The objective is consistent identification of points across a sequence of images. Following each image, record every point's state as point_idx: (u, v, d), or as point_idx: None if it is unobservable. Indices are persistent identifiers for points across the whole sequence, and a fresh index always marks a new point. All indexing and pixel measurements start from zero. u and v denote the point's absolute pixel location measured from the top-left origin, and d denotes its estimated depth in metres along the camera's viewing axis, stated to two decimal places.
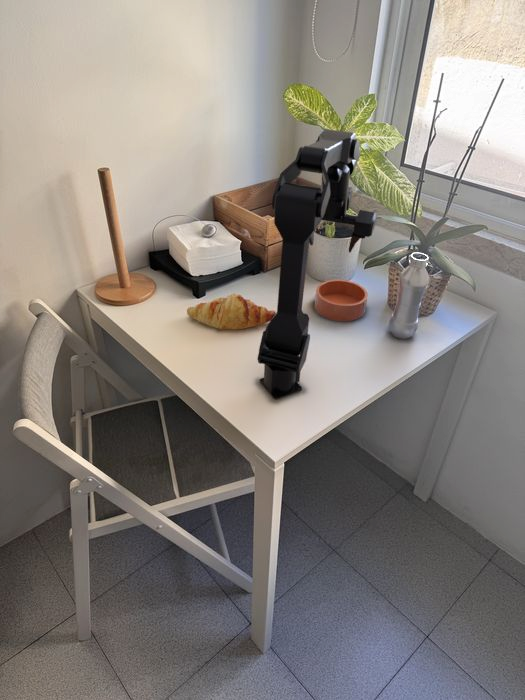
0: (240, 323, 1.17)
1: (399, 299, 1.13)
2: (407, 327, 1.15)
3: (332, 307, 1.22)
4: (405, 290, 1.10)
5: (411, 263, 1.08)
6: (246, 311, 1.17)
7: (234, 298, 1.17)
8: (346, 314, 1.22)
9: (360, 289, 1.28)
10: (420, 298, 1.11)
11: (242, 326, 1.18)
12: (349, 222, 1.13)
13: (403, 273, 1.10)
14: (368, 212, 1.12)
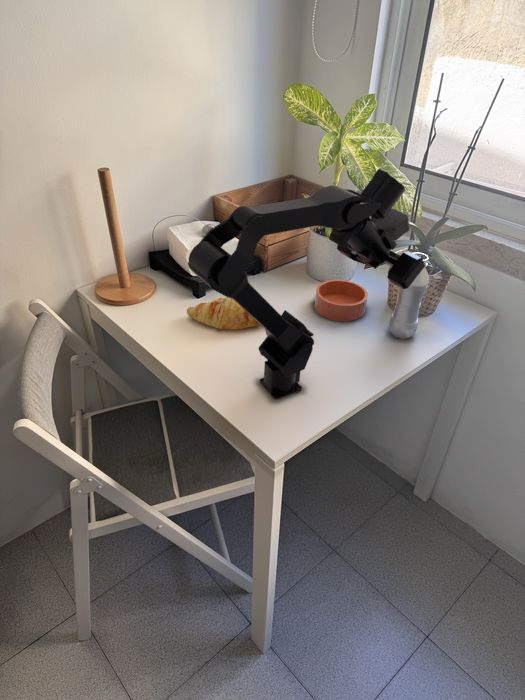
0: (240, 323, 1.17)
1: (399, 299, 1.13)
2: (407, 327, 1.15)
3: (332, 307, 1.22)
4: (405, 290, 1.10)
5: None
6: None
7: None
8: (346, 314, 1.22)
9: (360, 289, 1.28)
10: (420, 298, 1.11)
11: (242, 326, 1.18)
12: (391, 265, 0.97)
13: None
14: (409, 257, 0.93)
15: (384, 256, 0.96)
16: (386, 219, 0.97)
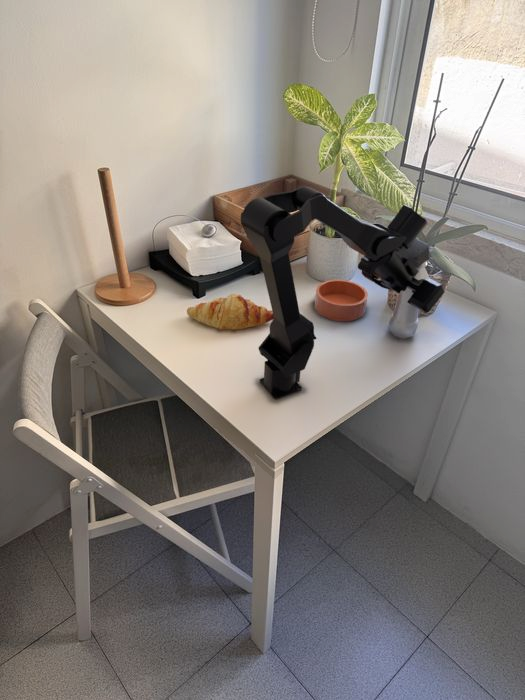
0: (240, 323, 1.17)
1: (399, 299, 1.13)
2: (406, 326, 1.15)
3: (332, 307, 1.22)
4: (405, 290, 1.10)
5: None
6: (246, 311, 1.17)
7: (234, 298, 1.17)
8: (346, 314, 1.22)
9: (360, 289, 1.28)
10: None
11: (242, 326, 1.18)
12: (413, 290, 1.06)
13: None
14: (430, 284, 1.02)
15: (407, 282, 1.05)
16: (408, 248, 1.05)
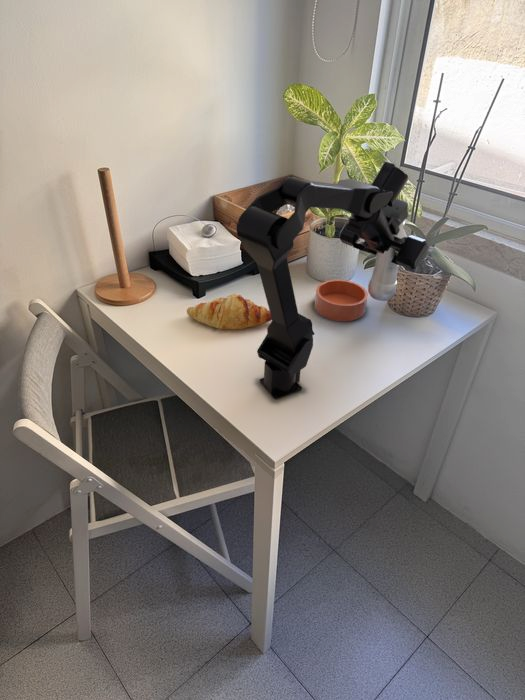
0: (240, 323, 1.17)
1: (379, 261, 1.13)
2: (388, 288, 1.15)
3: (332, 307, 1.22)
4: (386, 251, 1.10)
5: None
6: (246, 311, 1.17)
7: (234, 298, 1.17)
8: (346, 314, 1.22)
9: (360, 289, 1.28)
10: None
11: (242, 326, 1.18)
12: (396, 249, 1.06)
13: None
14: (415, 240, 1.03)
15: (390, 241, 1.05)
16: (388, 207, 1.05)
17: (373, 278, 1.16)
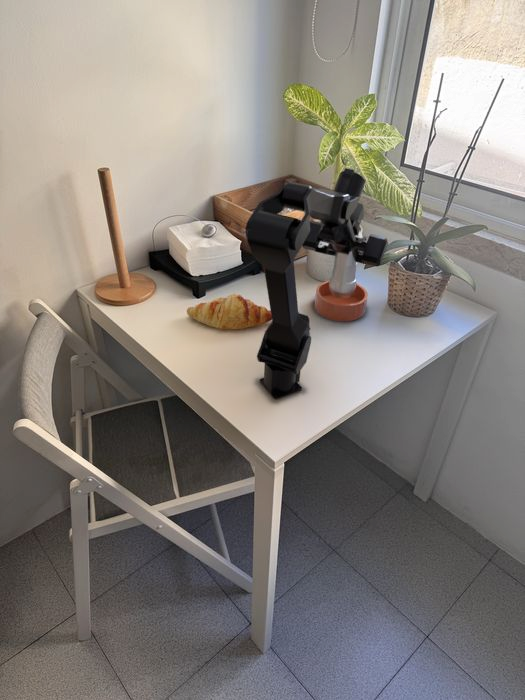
0: (240, 323, 1.17)
1: (339, 261, 1.18)
2: (350, 285, 1.21)
3: (332, 307, 1.22)
4: None
5: None
6: (246, 311, 1.17)
7: (234, 298, 1.17)
8: (346, 314, 1.22)
9: (360, 289, 1.28)
10: None
11: (242, 326, 1.18)
12: (359, 248, 1.12)
13: None
14: (377, 239, 1.09)
15: (354, 242, 1.11)
16: None
17: (334, 278, 1.21)
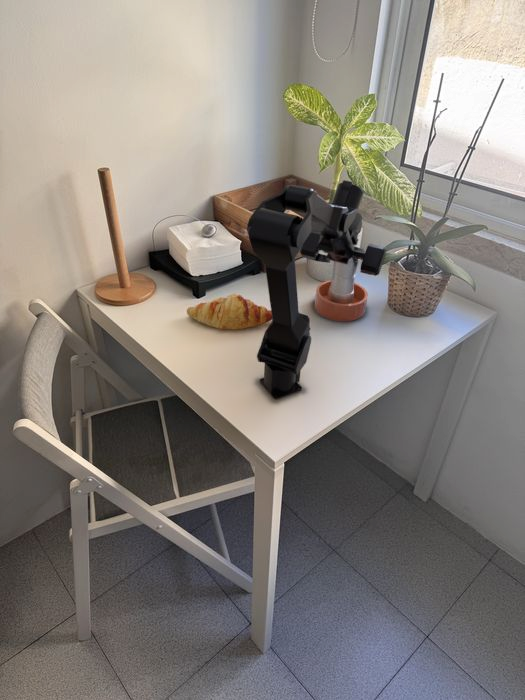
0: (240, 323, 1.17)
1: (338, 273, 1.20)
2: (348, 297, 1.23)
3: (332, 307, 1.22)
4: (344, 264, 1.18)
5: None
6: (246, 311, 1.17)
7: (234, 298, 1.17)
8: (346, 314, 1.22)
9: (360, 289, 1.28)
10: (356, 268, 1.20)
11: (242, 326, 1.18)
12: (358, 258, 1.14)
13: None
14: (375, 249, 1.11)
15: (352, 252, 1.12)
16: None
17: (333, 289, 1.23)
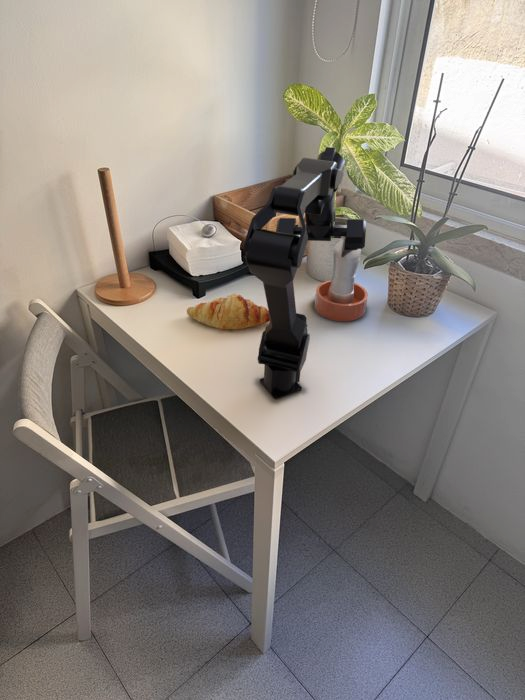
0: (240, 323, 1.17)
1: (338, 273, 1.20)
2: (348, 297, 1.23)
3: (332, 307, 1.22)
4: (344, 264, 1.18)
5: None
6: (246, 311, 1.17)
7: (234, 298, 1.17)
8: (346, 314, 1.22)
9: (360, 289, 1.28)
10: (356, 268, 1.20)
11: (242, 326, 1.18)
12: (339, 235, 1.07)
13: (338, 248, 1.17)
14: (356, 221, 1.05)
15: (333, 227, 1.05)
16: None
17: (333, 289, 1.23)
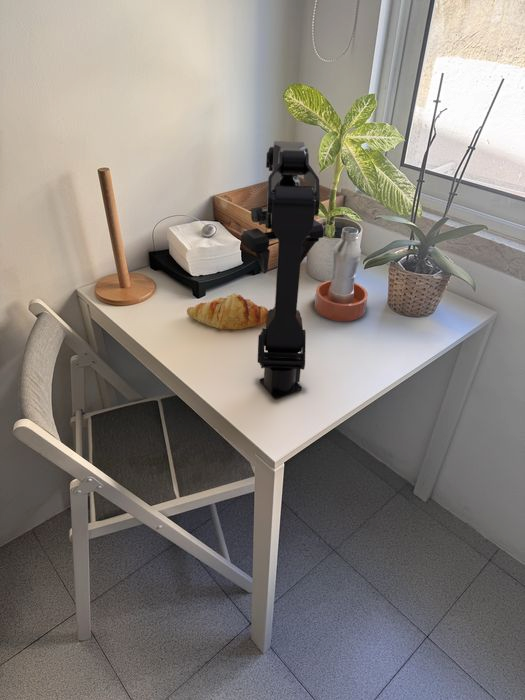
0: (240, 323, 1.17)
1: (338, 273, 1.20)
2: (348, 297, 1.23)
3: (332, 307, 1.22)
4: (344, 264, 1.18)
5: (345, 238, 1.15)
6: (246, 311, 1.17)
7: (234, 298, 1.17)
8: (346, 314, 1.22)
9: (360, 289, 1.28)
10: (356, 268, 1.20)
11: (242, 326, 1.18)
12: None
13: (338, 248, 1.17)
14: None
15: None
16: None
17: (333, 289, 1.23)
